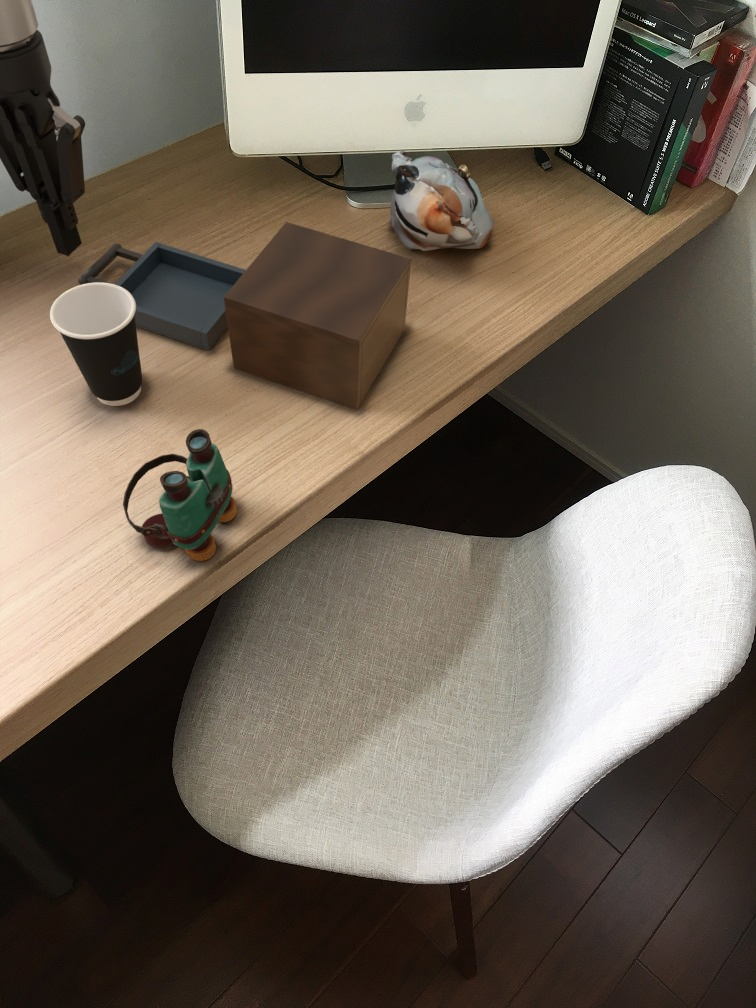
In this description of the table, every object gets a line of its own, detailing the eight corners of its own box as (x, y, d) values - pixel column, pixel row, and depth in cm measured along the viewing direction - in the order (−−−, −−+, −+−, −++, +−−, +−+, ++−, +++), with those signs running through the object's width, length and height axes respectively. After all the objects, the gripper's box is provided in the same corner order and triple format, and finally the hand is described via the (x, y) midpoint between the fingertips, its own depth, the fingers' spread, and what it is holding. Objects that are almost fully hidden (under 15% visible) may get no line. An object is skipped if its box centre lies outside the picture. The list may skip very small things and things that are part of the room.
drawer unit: (233, 368, 86) (223, 297, 78) (290, 293, 94) (286, 221, 86) (357, 410, 83) (359, 340, 75) (404, 329, 91) (411, 258, 83)
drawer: (71, 304, 91) (65, 286, 89) (127, 248, 97) (122, 231, 95) (209, 350, 87) (206, 333, 85) (257, 289, 94) (256, 272, 92)
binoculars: (132, 402, 70) (233, 425, 67) (164, 478, 78) (255, 501, 75) (77, 476, 64) (185, 504, 62) (117, 549, 73) (213, 576, 70)
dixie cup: (151, 417, 81) (128, 337, 72) (73, 417, 81) (41, 336, 72) (160, 363, 86) (140, 281, 77) (87, 363, 86) (58, 280, 77)
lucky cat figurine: (512, 238, 102) (521, 180, 88) (440, 296, 102) (438, 247, 88) (439, 158, 104) (437, 90, 91) (369, 215, 104) (356, 155, 90)
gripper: (81, 32, 74) (134, 245, 93) (-32, 4, 77) (43, 216, 96) (32, 66, 70) (98, 281, 89) (-86, 36, 73) (3, 251, 92)
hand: (69, 247), depth 93 cm, fingers closed
